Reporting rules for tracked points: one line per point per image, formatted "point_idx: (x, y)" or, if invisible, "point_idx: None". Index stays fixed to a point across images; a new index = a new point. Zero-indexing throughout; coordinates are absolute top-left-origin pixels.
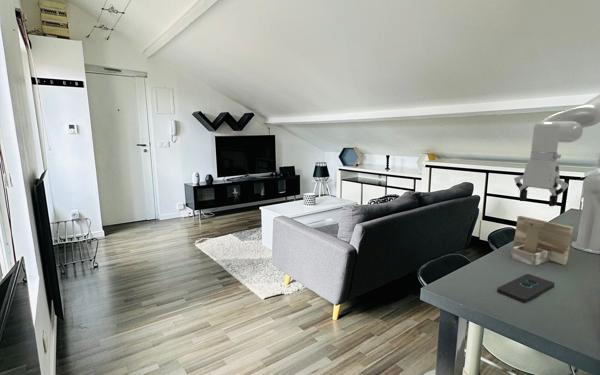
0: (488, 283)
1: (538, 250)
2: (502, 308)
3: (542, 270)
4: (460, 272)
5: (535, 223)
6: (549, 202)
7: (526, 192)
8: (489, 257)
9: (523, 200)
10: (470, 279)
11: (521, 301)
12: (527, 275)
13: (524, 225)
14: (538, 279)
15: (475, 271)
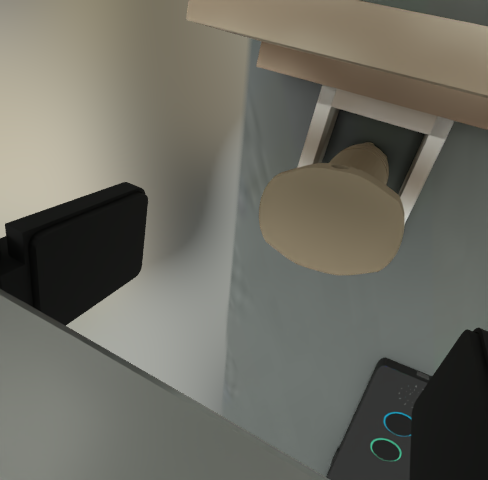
0: (299, 442)
1: (398, 124)
2: None
3: (428, 265)
4: (228, 406)
5: (342, 274)
6: (415, 447)
7: (64, 250)
8: (242, 244)
9: (141, 249)
10: (260, 436)
11: None
12: (381, 379)
13: (268, 41)
14: (417, 397)
15: (251, 384)
